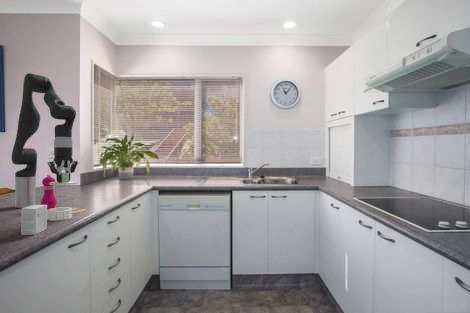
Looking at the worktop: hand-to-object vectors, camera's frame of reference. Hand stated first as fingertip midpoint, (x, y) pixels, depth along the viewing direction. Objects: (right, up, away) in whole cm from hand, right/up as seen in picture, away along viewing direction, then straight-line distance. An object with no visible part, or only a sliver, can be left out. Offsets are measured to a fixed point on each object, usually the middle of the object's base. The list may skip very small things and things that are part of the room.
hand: (63, 181), depth 133 cm
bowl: (-1, -18, -2) cm, 18 cm away
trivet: (-5, -17, +13) cm, 22 cm away
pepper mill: (-17, -17, +15) cm, 28 cm away
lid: (0, -1, 0) cm, 1 cm away
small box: (+1, -19, -20) cm, 28 cm away
